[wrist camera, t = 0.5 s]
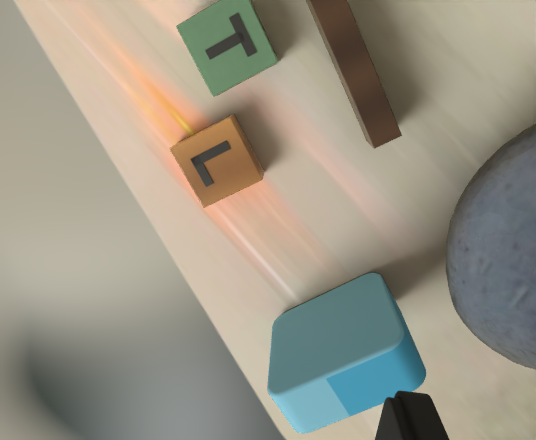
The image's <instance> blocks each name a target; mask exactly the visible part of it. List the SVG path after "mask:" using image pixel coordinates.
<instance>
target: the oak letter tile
mask: <svg viewBox="0 0 536 440" xmlns="http://www.w3.org/2000/svg"><path fill="white" fill-rule="evenodd" d="M170 150H171V152H172V154H173V156H174V157H175V159H176V161H177V163H178V164H179V166H180V168H181V170H182V171H183V173H184V175H185V176H186V178H187V180H188V182H189V183H190V185H191V187H192V189H193V190H194V192H195V194H196V196H197V197H198V199H199V201H200V202H201V204H202V206H203V207H204V208H205V207H207V206H209V205H211V204H213V203H215V202H217V201H219V200H221V199H223V198H225V197H227V196H229V195H232V194H234V193H236V192H238V191H240V190H242V189H244V188H246V187H248V186H250V185H252V184H254V183H256V182H259V181H261V180H262V179H263V176H264V171H263V169H262V167H261V165H260V163H259V161H258V159H257V157H256V155H255V154H254V152H253V150H252V148H251V146H250V144H249V142H248V140H247V138H246V136H245V134H244V132H243V130H242V128H241V126H240V125H239V123H238V121H237V119H236V117H235V115H234V114H232V115H230V116H228V117H226V118H224V119H222V120H220V121H219V122H217V123H215V124H213V125H211V126H209V127H207V128H205V129H203V130H201V131H199V132H198V133H196V134H194V135H192V136H190V137H188V138H186V139H184V140H182V141H180V142H178V143H177V144H175V145H174V146H172V147H171V148H170Z"/></svg>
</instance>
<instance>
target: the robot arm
mask: <svg viewBox="0 0 536 440" xmlns="http://www.w3.org/2000/svg"><path fill="white" fill-rule="evenodd" d="M375 440H449V438H448V435H447V433H446V431H445V429H444V426H443V424H442V422H441V419H440V417H439V415H438V413H437V410H436V408H435V406H434V403H433V401H432V399H431V397H430V396H429V395H428V394H423V393H415V392H408V391H400V390H399V391H397V392H396V394H395V396H394V398H392V397H387V398H386V399H385V402H384V406H383V410H382V414H381V418H380V422H379V426H378V430H377V433H376V437H375Z"/></svg>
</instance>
